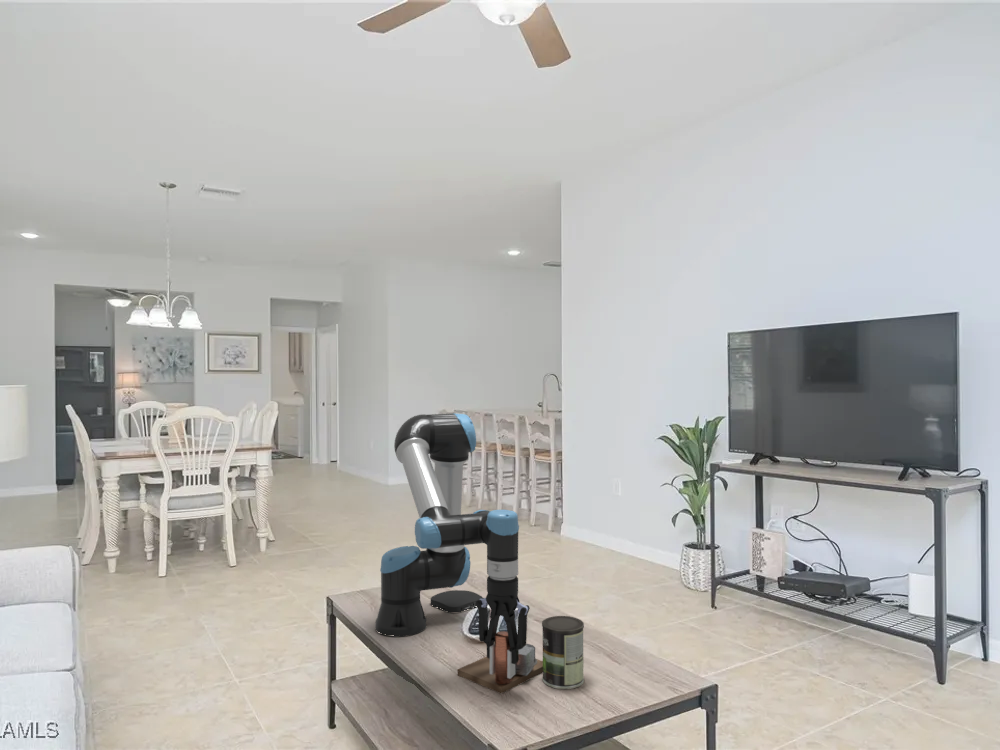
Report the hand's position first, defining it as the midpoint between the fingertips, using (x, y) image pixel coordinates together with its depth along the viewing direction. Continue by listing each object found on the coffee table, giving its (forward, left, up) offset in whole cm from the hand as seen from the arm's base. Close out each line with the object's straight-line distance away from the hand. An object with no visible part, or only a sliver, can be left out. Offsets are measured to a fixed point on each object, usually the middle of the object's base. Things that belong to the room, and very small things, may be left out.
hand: (502, 673), depth 161 cm
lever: (-2, +7, -2) cm, 8 cm away
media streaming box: (-53, +36, -4) cm, 64 cm away
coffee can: (+8, +14, -4) cm, 16 cm away
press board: (-6, +7, -4) cm, 10 cm away
